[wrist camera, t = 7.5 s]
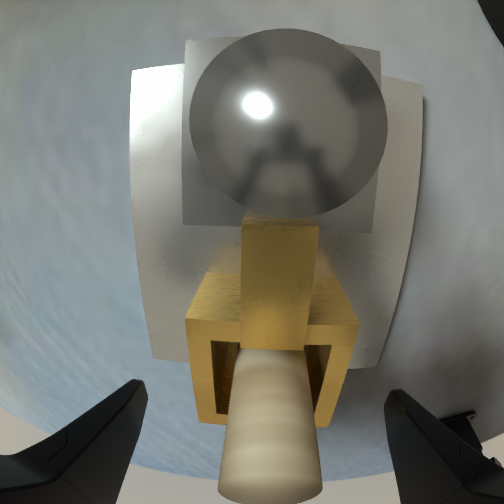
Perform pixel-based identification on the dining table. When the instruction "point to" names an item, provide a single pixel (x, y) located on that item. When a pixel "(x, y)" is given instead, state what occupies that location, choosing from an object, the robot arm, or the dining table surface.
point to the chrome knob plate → (272, 206)
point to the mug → (495, 15)
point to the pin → (270, 431)
